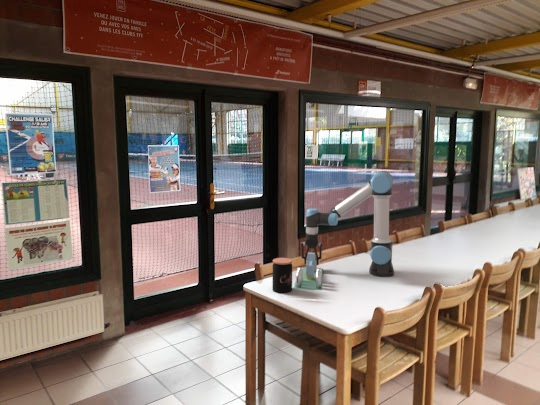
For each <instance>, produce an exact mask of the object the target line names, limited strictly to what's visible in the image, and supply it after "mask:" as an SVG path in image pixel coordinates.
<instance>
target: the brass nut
mask: <svg viewBox="0 0 540 405" xmlns="http://www.w3.org/2000/svg"><path fill="white" fill-rule="evenodd" d="M305 279H307V280H313V279H314V276H306V273H305Z"/></svg>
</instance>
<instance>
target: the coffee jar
mask: <svg viewBox="0 0 540 405" xmlns="http://www.w3.org/2000/svg"><path fill="white" fill-rule="evenodd" d="M272 262H273V263H272V292H274V293H276V294H289V293H291V292H292V291H293V264H292V263H293V259H292V258H288V257H276V258H273V259H272Z"/></svg>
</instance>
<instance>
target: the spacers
mask: <svg viewBox="0 0 540 405" xmlns="http://www.w3.org/2000/svg"><path fill="white" fill-rule="evenodd" d="M303 268H304V267H301V266H299V267H298V266H297V270H296V272H295V273H296V274H295V282H296V287H297V288H301V285H302V282H303ZM322 269H323V268H321V267H320V268H319V267H318V268H317V271H316V289H321V283H322V284H323V282H322Z"/></svg>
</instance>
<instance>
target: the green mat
mask: <svg viewBox="0 0 540 405" xmlns="http://www.w3.org/2000/svg"><path fill="white" fill-rule="evenodd" d="M302 268H303V282H302V285H301V288H297V287H296V281H295V283H294V287H293V290H307V291H310V290H311V291H323V279H324V268H321V269H322V283H321V289H316V271H317V270H315V271H314V279H313V280H307V279H305V273H306V267H302Z"/></svg>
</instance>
